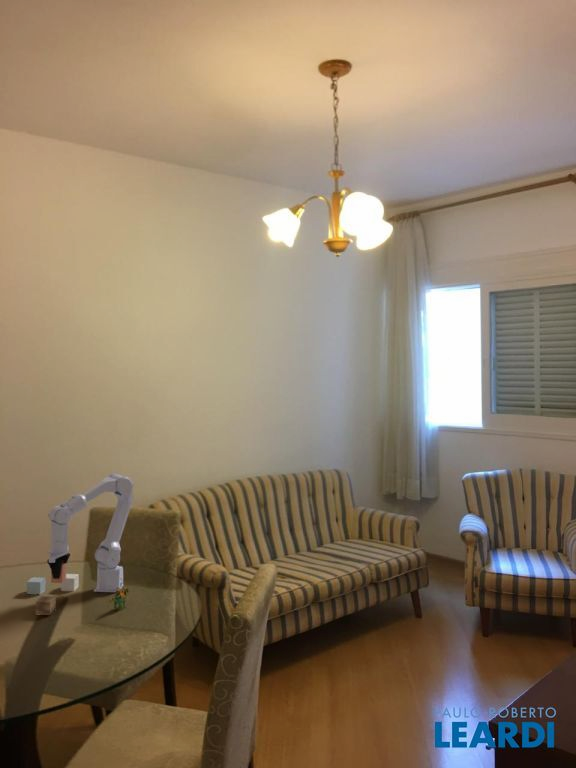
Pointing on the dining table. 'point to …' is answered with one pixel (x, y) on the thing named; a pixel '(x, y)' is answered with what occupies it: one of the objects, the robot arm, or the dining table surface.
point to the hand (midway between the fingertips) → (58, 576)
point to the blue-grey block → (36, 585)
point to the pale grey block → (70, 582)
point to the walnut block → (45, 605)
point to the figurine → (120, 597)
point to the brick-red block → (62, 575)
